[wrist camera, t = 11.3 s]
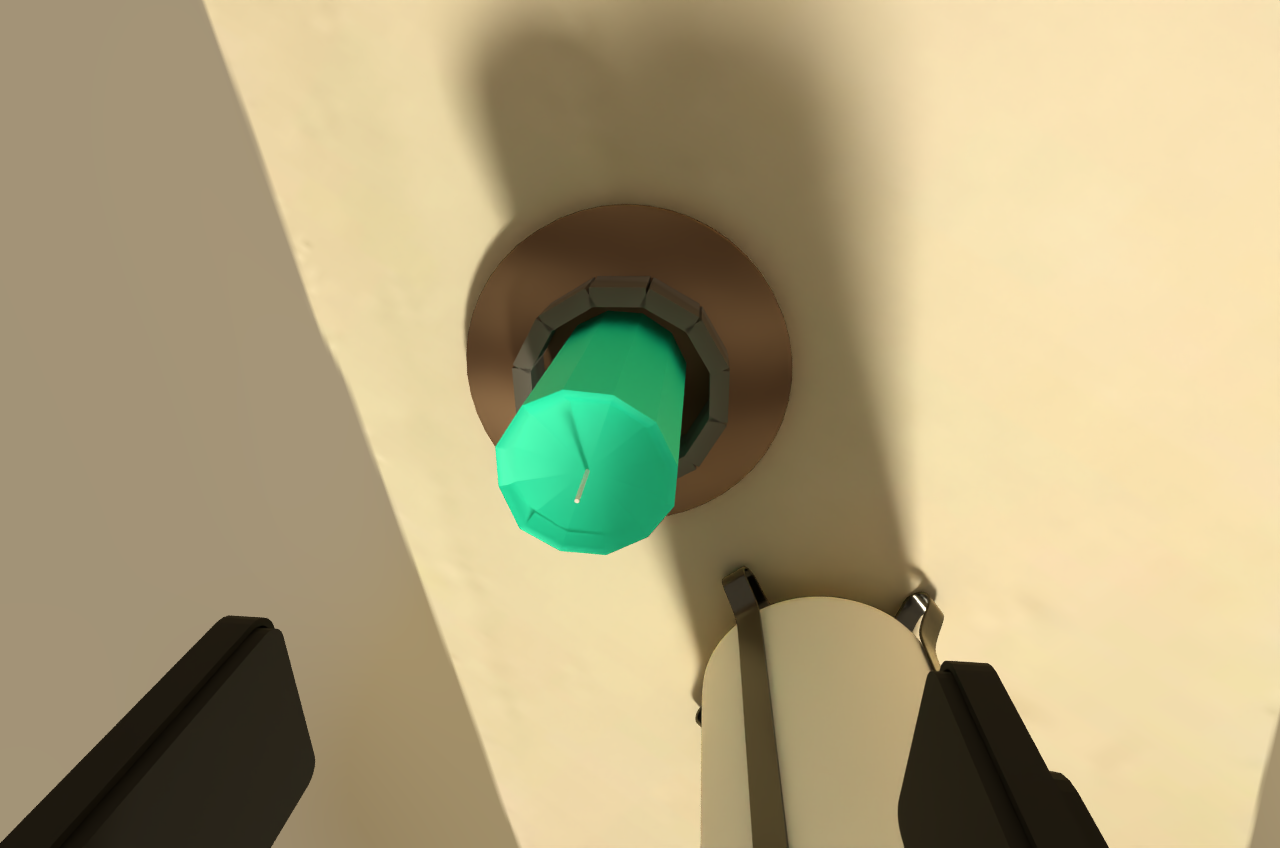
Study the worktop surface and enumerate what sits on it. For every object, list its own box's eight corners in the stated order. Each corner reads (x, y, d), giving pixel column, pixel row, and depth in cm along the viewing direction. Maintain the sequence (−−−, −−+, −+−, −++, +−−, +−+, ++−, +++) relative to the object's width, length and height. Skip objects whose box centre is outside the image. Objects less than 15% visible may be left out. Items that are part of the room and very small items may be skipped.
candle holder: (455, 205, 30) (425, 213, 27) (801, 203, 29) (813, 210, 25) (489, 504, 36) (468, 540, 32) (779, 513, 34) (786, 551, 31)
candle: (674, 298, 30) (656, 391, 19) (697, 423, 32) (693, 573, 21) (543, 322, 31) (452, 424, 20) (574, 442, 33) (508, 595, 22)
